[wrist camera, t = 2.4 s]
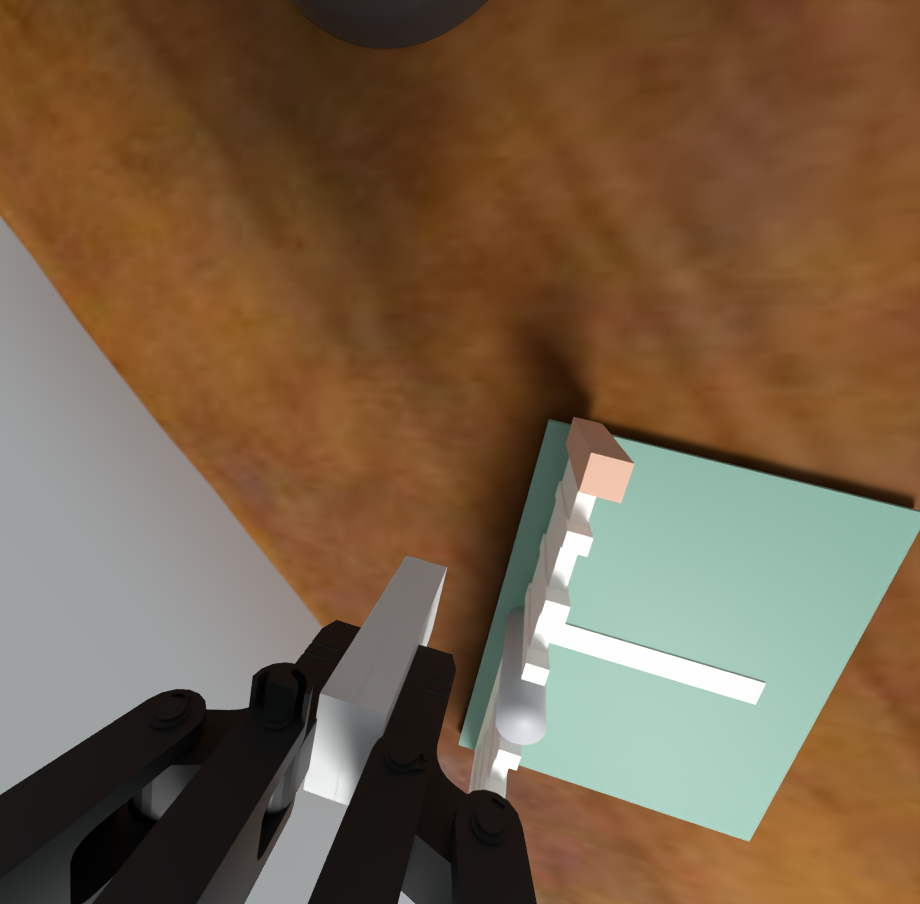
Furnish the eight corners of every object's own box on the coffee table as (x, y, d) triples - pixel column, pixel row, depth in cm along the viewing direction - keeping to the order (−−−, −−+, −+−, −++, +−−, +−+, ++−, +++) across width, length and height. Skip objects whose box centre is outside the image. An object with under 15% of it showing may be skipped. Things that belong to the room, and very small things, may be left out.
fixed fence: (512, 596, 29) (502, 695, 21) (548, 607, 29) (552, 711, 21) (468, 748, 32) (445, 884, 24) (500, 759, 32) (487, 900, 24)
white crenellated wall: (573, 416, 25) (591, 452, 16) (602, 423, 24) (634, 463, 16) (519, 598, 28) (512, 704, 20) (545, 606, 28) (548, 716, 19)
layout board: (548, 418, 26) (549, 420, 25) (918, 510, 24) (929, 514, 23) (459, 737, 32) (458, 745, 32) (745, 832, 30) (749, 843, 29)
